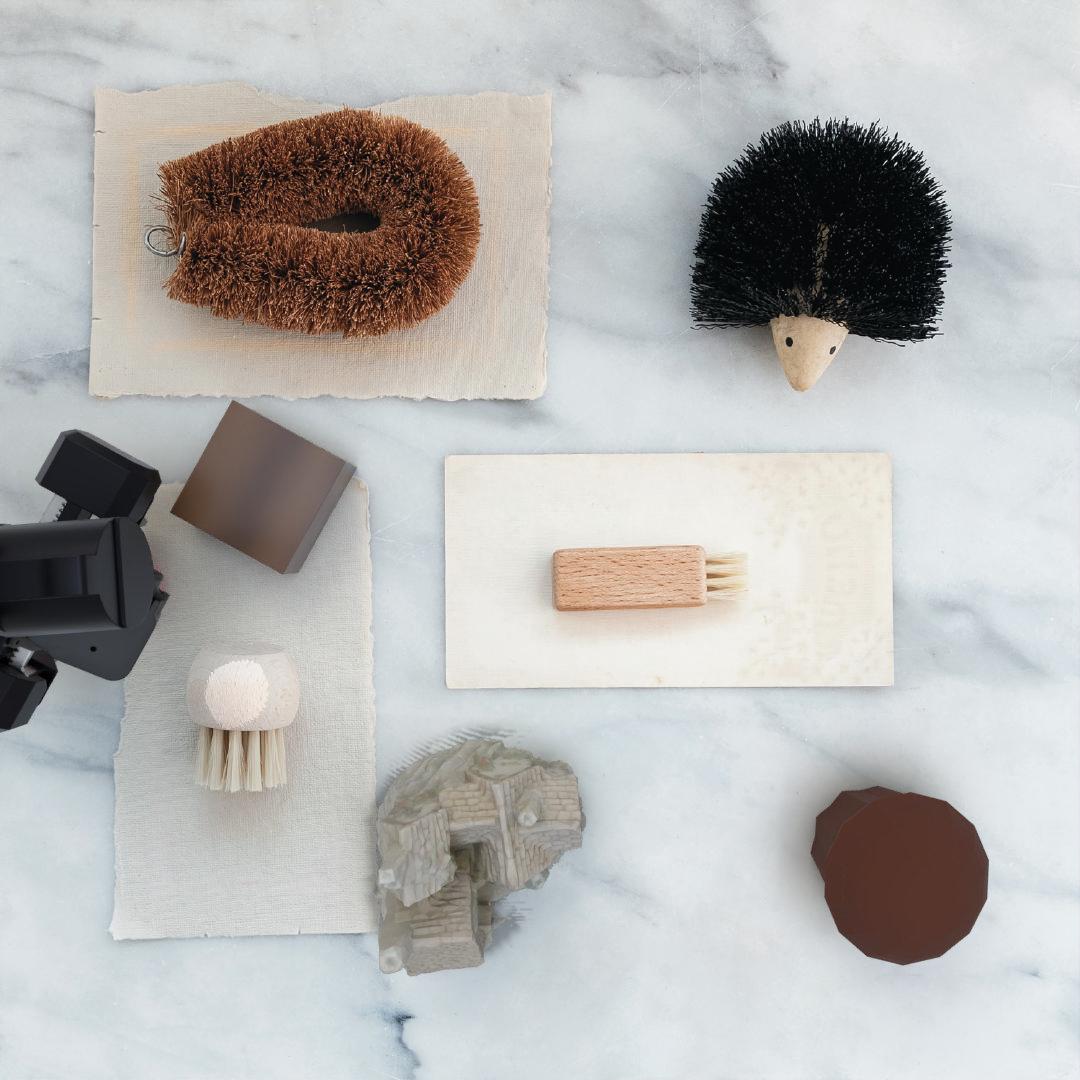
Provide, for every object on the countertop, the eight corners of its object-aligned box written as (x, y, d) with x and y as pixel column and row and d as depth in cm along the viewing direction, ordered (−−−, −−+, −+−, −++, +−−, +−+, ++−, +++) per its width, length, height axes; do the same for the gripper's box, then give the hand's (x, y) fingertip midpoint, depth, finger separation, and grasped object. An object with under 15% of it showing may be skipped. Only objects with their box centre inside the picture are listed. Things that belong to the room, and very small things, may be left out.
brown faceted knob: (839, 741, 64) (896, 777, 54) (967, 808, 64) (1049, 856, 54) (767, 880, 64) (811, 942, 54) (896, 948, 64) (964, 1022, 54)
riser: (197, 515, 64) (169, 512, 59) (255, 411, 64) (232, 399, 59) (302, 572, 64) (282, 574, 59) (360, 468, 64) (345, 461, 59)
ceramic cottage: (365, 946, 63) (331, 1060, 48) (384, 725, 64) (358, 770, 49) (571, 956, 64) (601, 1070, 49) (587, 739, 65) (622, 786, 50)
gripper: (12, 809, 45) (144, 742, 61) (181, 505, 46) (269, 516, 61) (-171, 709, 45) (9, 668, 61) (0, 406, 46) (135, 442, 61)
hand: (109, 576), depth 61 cm, fingers open, 9 cm apart
